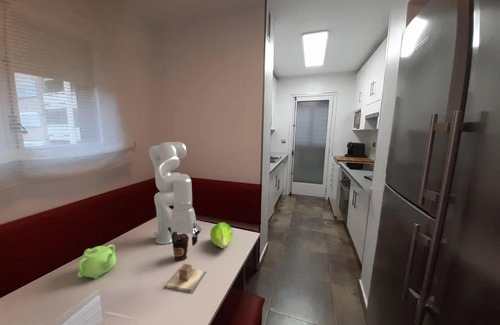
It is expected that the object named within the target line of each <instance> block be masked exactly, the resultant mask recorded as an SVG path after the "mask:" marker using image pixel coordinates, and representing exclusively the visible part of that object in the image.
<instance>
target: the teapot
mask: <svg viewBox="0 0 500 325" xmlns="http://www.w3.org/2000/svg"><path fill="white" fill-rule="evenodd" d="M115 248H116V246H115V245H114V244H107V246H105V245H99V246H97V245H96V246H94V247H92V248H86V249H85V250H84V251H83V254H82V256H81V259H80V260H79V261H78V262H77V265H76V267H77V269H78V273H77V274H76V275H77V277H78V278H83V277H85V278H93V280H98V279H99V278H101V276H102V275H104V274H106V273H107V272H110V271H112V270H113V269H114V267H115V265H116V263H117V257H116V256H117V253H116V252H115V251H116V249H115Z"/></svg>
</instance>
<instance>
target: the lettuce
mask: <svg viewBox="0 0 500 325" xmlns="http://www.w3.org/2000/svg"><path fill="white" fill-rule="evenodd" d="M232 228H233V227H232V226H230V225H229V224H228V223H226V222H222V221H221V222H218V223H216V225H214V226H213V227H212V228H211V229H210V233H209V236H210V241H211V242H212V243H213V244H214V245H215V246H216V247H219V248H221V249H225V248H226V247H227V245H229V244H230V242H231V241H232V240H233V236H234V233H233V230H232Z"/></svg>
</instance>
